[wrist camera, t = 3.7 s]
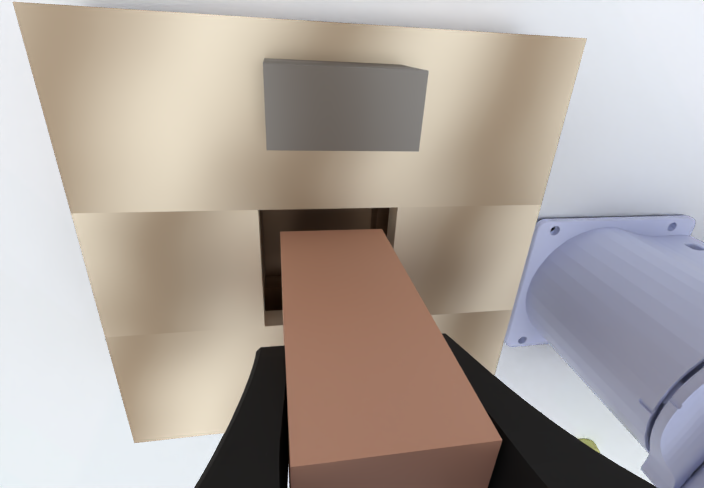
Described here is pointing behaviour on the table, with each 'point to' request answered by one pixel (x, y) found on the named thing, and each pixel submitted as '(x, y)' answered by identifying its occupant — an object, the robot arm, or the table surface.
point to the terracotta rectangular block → (372, 374)
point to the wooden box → (306, 221)
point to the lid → (284, 175)
